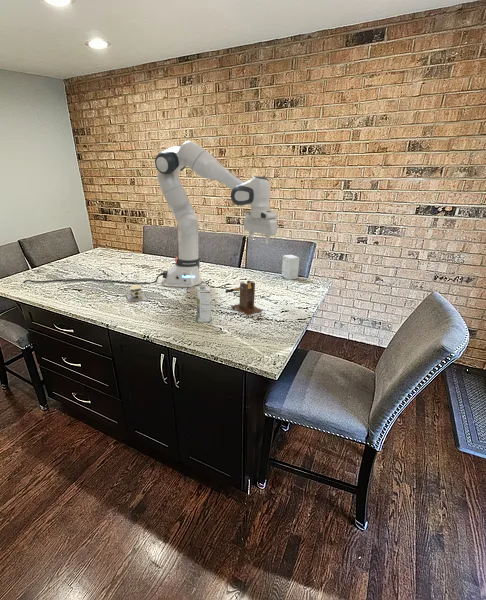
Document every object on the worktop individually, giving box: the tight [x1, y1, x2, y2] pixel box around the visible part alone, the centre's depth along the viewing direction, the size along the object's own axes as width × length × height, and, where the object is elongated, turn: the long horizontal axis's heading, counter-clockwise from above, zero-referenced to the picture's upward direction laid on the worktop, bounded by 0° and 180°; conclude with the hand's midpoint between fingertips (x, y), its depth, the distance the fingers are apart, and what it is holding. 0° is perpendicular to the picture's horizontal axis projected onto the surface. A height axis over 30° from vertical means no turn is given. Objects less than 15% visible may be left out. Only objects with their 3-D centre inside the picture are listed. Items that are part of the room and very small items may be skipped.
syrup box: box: [196, 285, 212, 323], centre depth 144 cm, size 6×6×14 cm
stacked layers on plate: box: [126, 284, 148, 303], centre depth 171 cm, size 10×9×6 cm
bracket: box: [230, 279, 263, 316], centre depth 152 cm, size 12×9×14 cm
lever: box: [225, 283, 252, 294], centre depth 155 cm, size 13×9×2 cm
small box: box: [281, 254, 300, 281], centre depth 200 cm, size 8×6×13 cm
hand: (259, 242), depth 163 cm, fingers open, 8 cm apart
